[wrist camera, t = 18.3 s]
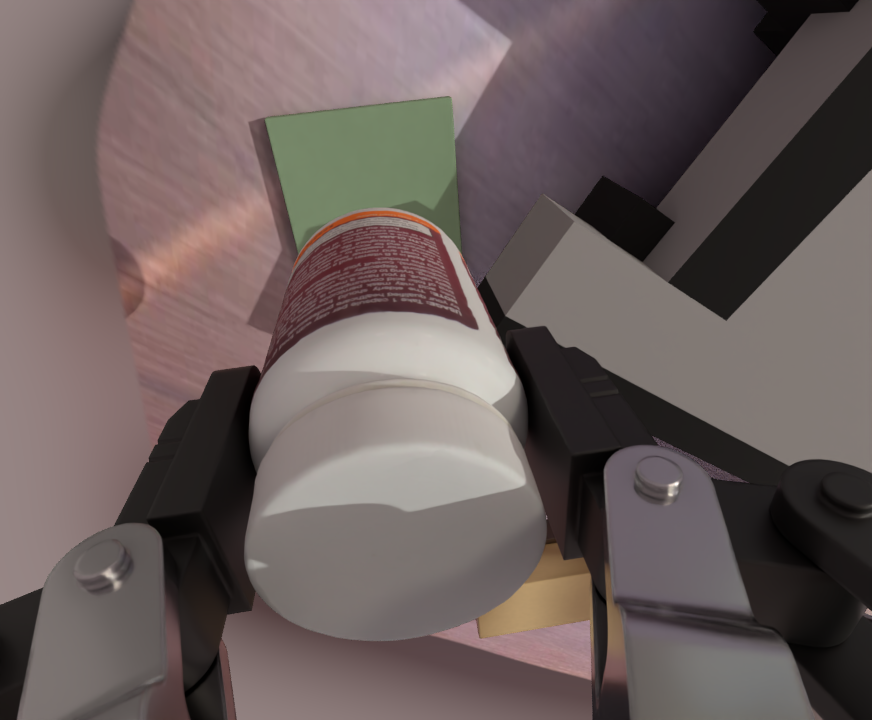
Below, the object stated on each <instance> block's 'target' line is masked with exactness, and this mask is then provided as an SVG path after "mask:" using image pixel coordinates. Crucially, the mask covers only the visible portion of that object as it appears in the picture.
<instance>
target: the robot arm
mask: <svg viewBox="0 0 872 720" xmlns="http://www.w3.org/2000/svg"><path fill="white" fill-rule="evenodd" d="M506 351H507V353H508V355H509V358H510V360H511V362H512V364H513V366H514V368H515V369H516V371H517V372H518V374H519V377H520V379H521V381H522V384H523V387H524V390H525V393H526V396H527V402H528V435H527V440H526V445H525V449H524V451H525V454H526V457H527V460H528V463H529V466H530V468H531V471H532V473H533V476H534V479H535V482H536V485H537V488H538V491H539V494H540V497H541V500H542V503H543V506H544V510H545V513H546V515H547V518H548V521H549V523H550V526H551V528H552V531H553V534H554V536H555V539H556V541H557V544H558V547H559V549H560V552H561V555H562V557H563V560H570V559H576V558H582V557H583V558H584V560H585V562H586V565H587V567H588V569H589V572H590V574H591V578H590V587H589V605H590V639H591V673H592V705H593V706H592V707H593V720H816V719H815V716H814V713H813V711H812V708H813V709H814V710H815V712H816V713H817V714H818V715H819V716H820V717H821V718H822V719H823V720H872V622H870V621H869V620H868V619H867V618H866V617H865V616H863V614H864V613H865V611H866V609H867V608H868V609H870V610H871V611H872V473H870V472H868V471H866V470H864V469H861V468H858V467H855V466H853V465H849V464H846V463H842V462H837V461H832V460H823V459H809V460H803V461H799V462H796V463H794V464H792V465H790V466H788V467H787V468H786V469H785V470H784V472H783V474H782V476H781V479H780V481H779V484H778V486H774V485H764V484H754V483H743V482H733V481H725V480H718V479H714V478H710V476H709V475H708V473H707V472H706V471H705V470H704V469H703V468H702V466H701V465H699V464H698V463H697V462H696V461H694V460H693V459H691V458H690V457H688V456H686V455H684V454H682V453H680V452H678V451H676V450H673V449H670V448H666V447H662V446H658V444H657V443H656V441H655V440H654V439H653V437H652V436H651V435H650V433H649V432H648V430H647V429H646V428H645V426H644V425H643V423H642V422H641V421H640V419H639V418H638V417H637V415H636V414H635V412H634V411H633V410H632V408H631V407H630V406H629V404H628V403H627V401H626V400H625V399H624V397H623V396H622V394H619V393H618V389H617V388H616V386H615V385H614V383H613V382H612V381H611V379H608V375H607V374H606V372H605V371H604V370H603V368H602V367H601V365H600V364H599V363H598V361H597V360H596V359H595V358H593V357H592V356H590V355H588V354H587V353H585V352H583V351H582V350H580V349H579V348H577V347H568V348H561V349H560V347H559V345H558V344H557V342H556V341H555V339H554V338H553V336H552V334H551V333H550V331H549V330H548V328H547V327H546V326H537V327H530V328H523V329H516V330H508V331H507V333H506ZM260 376H261V373H260V371H259V369H258V368H257V367H256V366H246V367H239V368H232V369H224V370H217V371H214V372H213V373H212V374H211V376H210V378H209V381H208V383H207V385H206V387H205V389H204V392H203V394H202V396H201V398H200V399H197V400H190V401H188V402H187V403H186V404H185V405H184V406H182V407H181V408H180V409H179V410H178V411H177V412H176V413H175V414H174V415H173V416H172V417H171V418H170V419H169V420H168V421H167V423H166V425H165V427H164V429H163V431H162V433H161V435H160V437H159V439H158V445H155V447H154V449H153V451H152V452H151V454H150V456H149V462H147V463H146V464H145V466H144V468H143V470H142V472H141V474H140V476H139V478H138V480H137V482H136V484H135V486H134V488H133V490H132V491H131V493H130V495H129V497H128V499H127V501H126V503H125V505H124V507H123V509H122V511H121V513H120V515H119V517H118V519H117V521H116V523H115V525H114V526H113V527H110V528H107V529H105V530H102V531H100V532H98V533H96V534H94V535H92V536H91V537H89V538H87V539H85V540H84V541H82V542H81V543H79V544H78V545H77V546H75V547H74V548H73V549H72V550H70V551H69V552H68V553H67V554H66V555H65V556H64V557H63V558H62V559H61V560H60V561H59V562H58V563H57V564H56V566H55V567H54V568H53V570H52V571H51V573H50V574H49V576H48V578H47V580H46V582H45V584H44V587H43V588H41V589H38V590H36V591H33V592H31V593H29V594H26V595H24V596H21V597H19V598H16V599H14V600H11V601H9V602H6V603H4V604H1V605H0V720H237V719H236V712H235V704H234V698H233V689H232V682H231V675H230V667H229V660H228V653H227V649H226V646H225V644H224V642H223V640H222V638H221V637H222V633H223V629H224V625H225V621H226V616H227V614H234V613H239V612H246V611H251V610H252V606H253V601H254V596H255V589H254V587H253V585H252V584H251V582H250V580H249V576H248V574H247V571H246V567H245V561H244V546H245V535H246V530H247V525H248V520H249V515H250V510H251V505H252V500H253V494H254V485H255V479H256V476H257V472H256V470H255V468H254V465H253V461H252V458H251V453H250V446H249V418H250V408H251V402H252V398H253V394H254V391H255V388H256V386H257V384H258V382H259V380H260ZM811 707H812V708H811Z"/></svg>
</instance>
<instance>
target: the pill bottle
mask: <svg viewBox="0 0 872 720" xmlns="http://www.w3.org/2000/svg"><path fill="white" fill-rule="evenodd" d="M527 435H528V402H527V396H526V393H525V390H524V387H523V384H522V381H521V379H520V377H519V374H518V372H517V371H516V369H515V368H514V366H513V364H512V362H511V360H510V358H509V355H508V353H507V351H506V349H505V347H504V345H503V343H502V341H501V338H500V336H499V333H498V331H497V329H496V326H495V324H494V323H493V321H492V319H491V316H490V314H489V313H488V310H487V308H486V305H485V303H484V301H483V299H482V297H481V294H480V293H479V291H478V289H477V287H476V284H475V282H474V280H473V278H472V276H471V274H470V271H469V269H468V266H467V265H466V263H465V261H464V259H463V257H462V255H461V253H460V251H459V250H458V248H457V247H456V245H455V244H454V243H453V241H452V240H451V239H450V238H449V237H448V236H447V235H446V234H445V233H444V232H443V231H442V230H441V229H440V228H439V227H437V226H436V225H434V224H433V223H432V222H430V221H428V220H426V219H424V218H423V217H421V216H418V215H416V214H413V213H410V212H407V211H403V210H399V209H393V208H366V209H360V210H356V211H352V212H350V213H347V214H344V215H342V216H339V217H337V218H335V219H334V220H332V221H330V222H328V223H327V224H326V225H324V226H323V227H321V228H320V229H319V230H318V231H317V232H315V233H314V234H313V236H312V237H311V238H310V239H309V240H308V241H307V242H306V244H305V245H304V247H303V248H302V249H301V251H300V253H299V255H298V257H297V259H296V261H295V263H294V266H293V269H292V272H291V276H290V278H289V281H288V285H287V289H286V293H285V296H284V300H283V304H282V307H281V310H280V313H279V316H278V320H277V323H276V327H275V330H274V332H273V336H272V340H271V343H270V346H269V350H268V353H267V356H266V360H265V364H264V367H263V370H262V373H261V376H260V380H259V382H258V384H257V386H256V388H255V391H254V394H253V398H252V402H251V408H250V418H249V446H250V453H251V458H252V461H253V465H254V468H255V470H256V472H257V476H256V479H255V485H254V494H253V500H252V505H251V510H250V515H249V520H248V525H247V530H246V535H245V546H244V561H245V567H246V571H247V574H248V576H249V580H250V582H251V584H252V585H253V587H254V589H255V591H256V592H257V594H258V595H259V596H260V597H261V598H262V600H263V601H264V602H265V603H266V604H267V605H268V606H269V607H270V608H271V609H273V610H274V611H275V612H277V613H278V614H279V615H281V616H282V617H284V618H286V619H287V620H289V621H290V622H292V623H295V624H297V625H299V626H301V627H303V628H306V629H308V630H311V631H315V632H318V633H322V634H326V635H330V636H333V637H338V638H346V639H351V640H367V641H391V640H403V639H409V638H415V637H421V636H426V635H430V634H434V633H437V632H441V631H444V630H448V629H451V628H454V627H457V626H460V625H461V624H464V623H468V622H470V621H472V620H474V619H476V618H478V617H480V616H482V615H484V614H486V613H488V612H489V611H491V610H492V609H494V608H496V607H497V606H499V605H500V604H502V603H504V602H505V601H506V600H508V599H509V598H510V597H511V596H512V595H513V594H514V593H515V592H516V591H517V590H518V589H519V588H520V587H521V586H522V585H523V584H524V583H525V581H526V580H527V579H528V578H529V577H530V575H531V574H532V572H533V571H534V570H535V568H536V566H537V565H538V563H539V561H540V559H541V556H542V553H543V550H544V548H545V543H546V537H547V521H546V513H545V510H544V506H543V503H542V500H541V497H540V494H539V491H538V488H537V485H536V482H535V479H534V476H533V473H532V471H531V468H530V466H529V463H528V460H527V457H526V454H525V451H524V449H525V445H526V440H527Z"/></svg>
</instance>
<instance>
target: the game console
mask: <svg viewBox="0 0 872 720" xmlns="http://www.w3.org/2000/svg"><path fill="white" fill-rule="evenodd" d="M757 1H758V2H759V3H760V4H761V6H762V7H763V8H764V9H765V10H766V11H767V12H768V13H767V14H766V15H765V16H764V18H763V19H762V20H761V22H760V23H759V24H758V26H757V27H756V28H755V30H754V31H753V32H754V33H755V34H756V35H757V36H758V37H759V38H760V39H761V40H762V41H763V42H764V43H765V44H766V45H767V46H768V47H769V48H770V49H771V50H772V51H773V52H774V53H775V54H776V55H777V58H776V59H775V60H774V61H773V63H772V64H771V65H770V66H769V68H768V69H767V70H766V71H765V73H764V74H763V75H762V76H761V78H760V79H759V80H758V81H757V83H756V84H755V85H754V86H753V88H752V89H751V90H750V91H749V93H748V94H747V95H746V96H745V98H744V99H743V100H742V101H741V103H740V104H739V105H738V106H737V108H736V109H735V110H734V111H733V113H732V114H731V115H730V116H729V118H728V119H727V120H726V122H725V123H724V124H723V125H722V127H721V128H720V129H719V130H718V132H717V133H716V134H715V135H714V137H713V138H712V139H711V140H710V142H709V143H708V144H707V145H706V147H705V148H704V149H703V150H702V152H701V153H700V154H699V155H698V157H697V158H696V159H695V160H694V162H693V163H692V164H691V165H690V167H689V168H688V169H687V170H686V172H685V173H684V174H683V175H682V177H681V178H680V179H679V180H678V182H677V183H676V184H675V185H674V187H673V188H672V189H671V190H670V192H669V193H668V194H667V195H666V197H665V198H664V199H663V200H662V202H661V203H660V204H659V206H658V207H657V208H655V207H653V206H652V205H650V204H649V203H648V202H646V201H645V200H643V199H642V198H640V197H639V196H637V195H635V194H633V193H632V192H630V191H628V190H626V189H625V188H623V187H621V186H620V185H618V184H616V183H614V182H613V181H611V180H609V179H607V178H606V177H604V176H602V178H601V179H600V180H599V182H598V183H597V184H596V186H595V187H594V189H593V190H592V191H591V193H590V194H589V195H588V197H587V198H586V200H585V201H584V202H583V204H582V205H581V206H580V208H579V209H578V211H577V212H576V213H575V215H574V214H573V213H571V212H570V211H568V210H567V209H565V208H564V207H562V206H561V205H559V204H558V203H556V202H555V201H553V200H552V199H550V198H549V197H547V196H546V195H544V194H543V193H542V194H541V196H540V197H539V199H538V200H537V202H536V203H535V205H534V206H533V207H532V209H531V210H530V212H529V213H528V215H527V216H526V218H525V219H524V221H523V222H522V224H521V225H520V226H519V228H518V229H517V231H516V232H515V234H514V235H513V237H512V238H511V240H510V241H509V243H508V244H507V246H506V247H505V248H504V250H503V251H502V253H501V254H500V256H499V257H498V259H497V260H496V262H495V263H494V265H493V266H492V267H491V269H490V270H489V272H488V273H487V275H486V276H485V278H484V279H483V281H482V282H481V284H480V285H479V286H478V288H477V289H478V291H479V293H480V294H481V297H482V299H483V301H484V303H485V305H486V308H487V310H488V313H489V314H490V316H491V319H492V321H493V323H494V324H495V326H496V329H497V331H498V333H499V336H500V338H501V341H502V343H503V345H504V347H505V349H506V333H507V331H508V330H516V329H523V328H530V327H537V326H546V327H547V328H548V330H549V331H550V333H551V334H552V336H553V338H554V339H555V341H556V342H557V344H558V345H559V347H560V349H561V348H568V347H577V348H579V349H580V350H582V351H583V352H585V353H587V354H588V355H590V356H592V357H593V358H595V359H596V360H597V361H598V363H599V364H600V365H601V367H602V368H603V370H604V371H605V372H606V374H607V375H608V379H611V381H612V382H613V383H614V385H615V386H616V388H617V389H618V393H619V394H622V396H623V397H624V399H625V400H626V401H627V403H628V404H629V406H630V407H631V408H632V410H633V411H634V412H635V414H636V415H637V417H638V418H639V419H640V421H641V422H642V423H643V425H644V426H645V428H646V429H647V430H648V432H649V433H650V435H652V436H654V437H656V438H658V439H660V440H662V441H664V442H666V443H669V444H671V445H673V446H675V447H677V448H679V449H681V450H683V451H685V452H687V453H689V454H691V455H693V456H695V457H697V458H699V459H702V460H704V461H706V462H708V463H710V464H712V465H714V466H716V467H718V468H720V469H722V470H724V471H726V472H728V473H730V474H732V475H735V476H737V477H739V478H741V479H743V480H745V481H747V482H749V483H754V484H764V485H774V486H778V484H779V481H780V479H781V476H782V474H783V472H784V470H785V469H786V468H787V467H788V466H790V465H792V464H794V463H796V462H799V461H803V460H809V459H823V460H832V461H837V462H842V463H846V464H849V465H853V466H855V467H858V468H861V469H864V470H866V471H868V472H870V473H872V0H757Z"/></svg>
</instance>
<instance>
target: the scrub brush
mask: <svg viewBox="0 0 872 720" xmlns="http://www.w3.org/2000/svg"><path fill="white" fill-rule="evenodd" d="M546 521H547V537H546V543H545V548H544V550H543V553H542V556H541V559H540V561H539V563H538V565H537V566H536V568H535V570H534V571H533V572H532V574H531V575H530V577H529V578H528V579H527V580H526V581H525V583H524V584H523V585H522V586H521V587H520V588H519V589H518V590H517V591H516V592H515V593H514V594H513V595H512V596H511V597H510V598H509V599H508V600H506V601H505V602H504V603H502V604H500V605H499V606H497V607H496V608H494V609H492V610H491V611H489V612H488V613H486V614H484V615H482V616H480V617H478V618H476V623H477V628H478V633H479V638H487V637H493V636H499V635H504V634H510V633H516V632H522V631H528V630H534V629H540V628H545V627H551V626H557V625H563V624H569V623H575V622H580V621H586V620H590V605H589V587H590V578H591V574H590V572H589V569H588V567H587V565H586V562H585V560H584V558H583V557H582V558H576V559H570V560H563V557H562V555H561V552H560V549H559V547H558V544H557V541H556V539H555V536H554V534H553V531H552V528H551V526H550V523H549V521H548V520H546Z"/></svg>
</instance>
